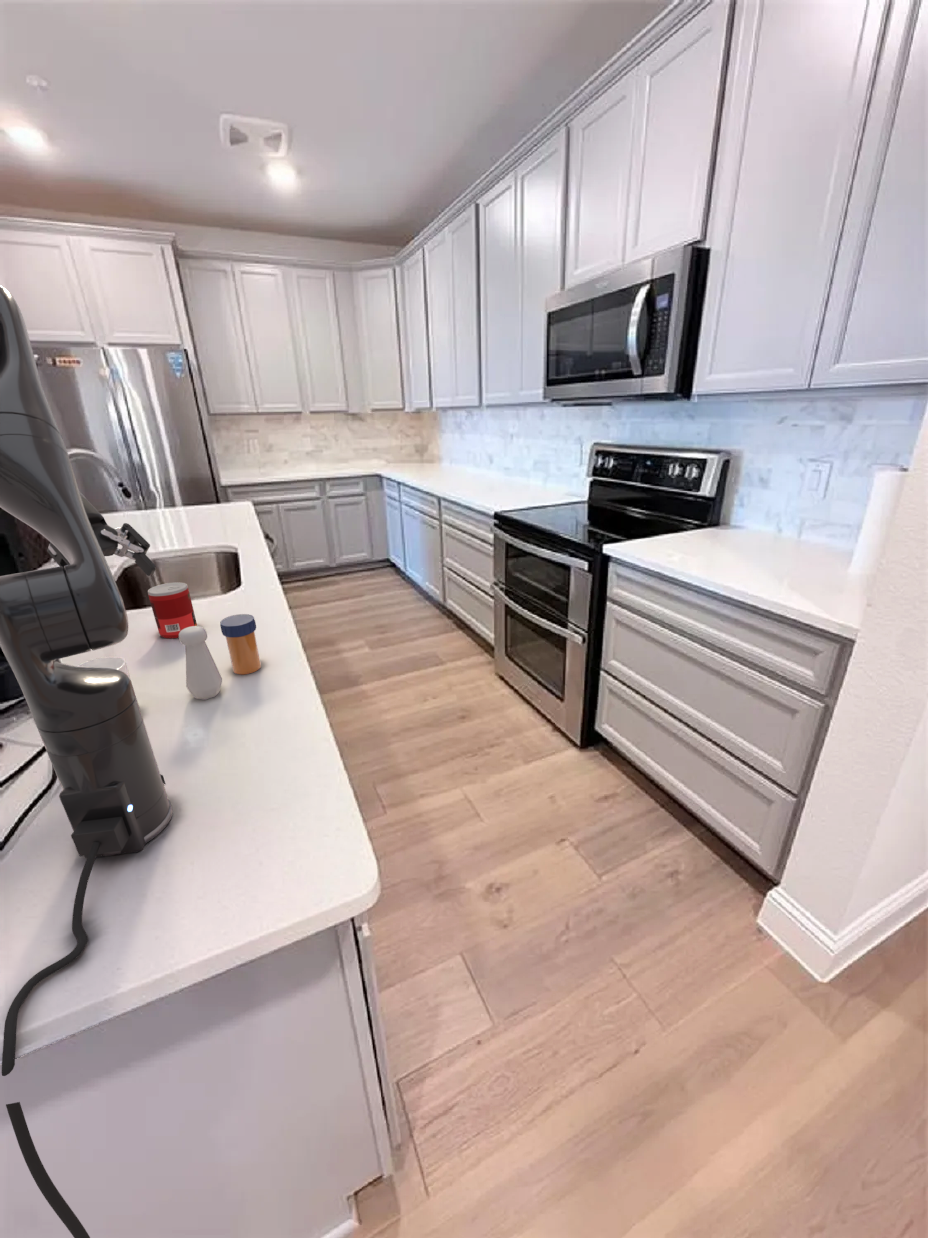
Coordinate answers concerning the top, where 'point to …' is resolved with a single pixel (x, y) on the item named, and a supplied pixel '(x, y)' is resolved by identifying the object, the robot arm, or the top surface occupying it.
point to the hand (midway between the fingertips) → (130, 579)
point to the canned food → (172, 608)
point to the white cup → (107, 664)
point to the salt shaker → (199, 664)
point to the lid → (238, 625)
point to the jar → (244, 653)
